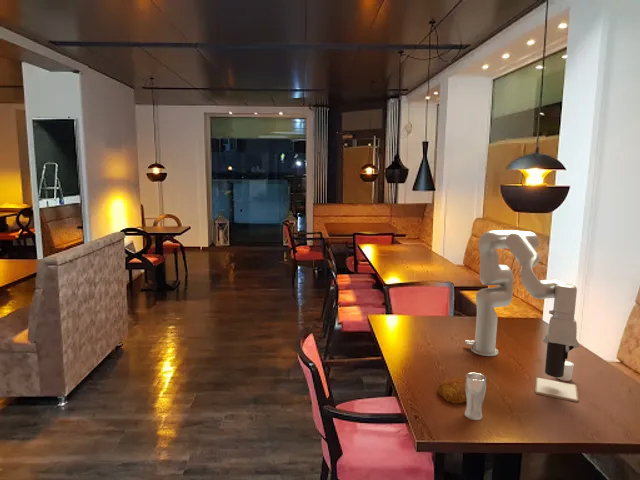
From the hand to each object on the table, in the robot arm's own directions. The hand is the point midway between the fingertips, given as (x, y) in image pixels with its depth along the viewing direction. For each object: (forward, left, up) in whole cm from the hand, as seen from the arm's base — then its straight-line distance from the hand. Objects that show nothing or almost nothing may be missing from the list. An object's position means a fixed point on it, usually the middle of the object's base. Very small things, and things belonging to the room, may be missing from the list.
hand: (559, 359), depth 188 cm
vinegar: (-1, +1, -7) cm, 7 cm away
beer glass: (-27, -37, -13) cm, 48 cm away
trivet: (0, 0, -13) cm, 13 cm away
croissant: (-35, -23, -14) cm, 44 cm away
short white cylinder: (+3, +14, -13) cm, 20 cm away
